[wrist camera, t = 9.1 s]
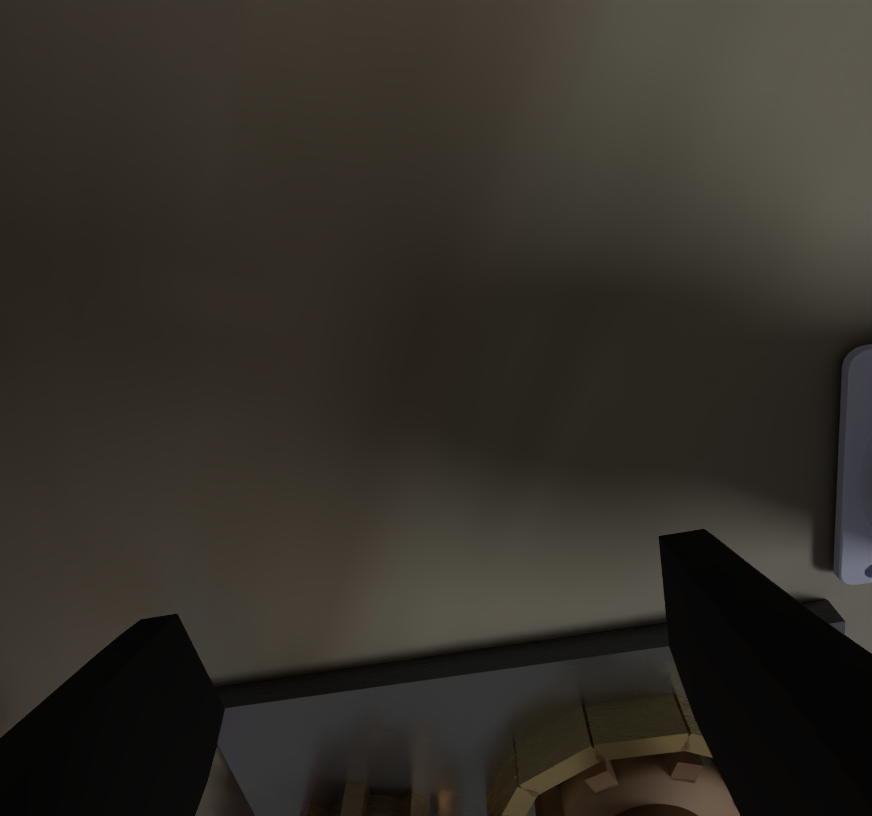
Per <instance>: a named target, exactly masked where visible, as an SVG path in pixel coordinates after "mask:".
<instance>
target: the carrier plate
mask: <svg viewBox="0 0 872 816" xmlns="http://www.w3.org/2000/svg"><path fill="white" fill-rule="evenodd" d="M801 604H802V605H804V606H805V607H806V608H808V609H809V610H811V611H812V612H813V613H815V614H816V615H818V616H819V617H820V618H822V619H823V620H825V621H826V622H827V623H829V624H830V625H832V626H833V627H834V628H836V629H837V630H839V631H840V632H841V633H843V634H845V621H844V619H843V618H842V617H841V616H840V615H839V613H838V612H837V611H836V610H835V608H834V607H833V606H832V605H831V603H830V602H829V601H828V600H822V601H815V602H808V603H801ZM215 690H216V692H217V694H218V696H219V698H220V700H221V702H222V704H223V706H224V708H225V711H224V716H223V720H222V725H221V729H220V734H219V738H218V742H217V744H218V746H219V748H220V750H221V752H222V754H223V756H224V758H225V760H226V762H227V763H228V765H229V767H230V769H231V771H232V773H233V775H234V777H235V779H236V781H237V783H238V784H239V786H240V788H241V790H242V792H243V794H244V796H245V798H246V800H247V802H248V803H249V805H250V807H251V809H252V811H253V813H254V815H255V816H536V812H535V803H534V801H535V799H536V798H537V796H538V795H539V794H541V793H543V792H545V791H547V790H549V789H550V788H552V787H554V786H557V787H560V786H561V784H562V783H563V782H564V781H565V780H567V779H569V778H571V777H573V776H574V775H576V774H578V773H580V772H582V771H584V770H586V769H587V768H589V767H591V766H593V765H595V764H597V763H599V762H600V761H605V760H613V759H621V758H630V757H638V756H646V755H655V754H663V753H671V752H680V751H687V752H691V753H695V754H699V755H702V756H705V757H706V758H708V759H710V760H712V761H713V762H715V761H714V759H713V757H712V755H711V753H710V751H709V749H708V747H707V744H706V742H705V740H704V738H703V736H702V734H701V732H700V730H699V727H698V725H697V723H696V721H695V719H694V716H693V713H692V710H691V708H690V705H689V702H688V699H687V696H686V694H685V691H684V688H683V685H682V682H681V680H680V677H679V674H678V671H677V668H676V665H675V662H674V659H673V656H672V654H671V651H670V648H669V640H668V629H667V623H663V624H656V625H649V626H642V627H635V628H628V629H621V630H614V631H607V632H600V633H593V634H587V635H580V636H573V637H566V638H559V639H552V640H545V641H538V642H531V643H524V644H517V645H510V646H503V647H497V648H490V649H483V650H476V651H469V652H462V653H455V654H448V655H441V656H434V657H427V658H420V659H413V660H406V661H400V662H393V663H386V664H379V665H372V666H365V667H358V668H351V669H344V670H337V671H330V672H323V673H316V674H309V675H303V676H296V677H289V678H282V679H275V680H268V681H261V682H254V683H247V684H240V685H233V686H226V687H219V688H215Z"/></svg>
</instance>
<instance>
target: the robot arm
mask: <svg viewBox="0 0 872 816" xmlns="http://www.w3.org/2000/svg"><path fill="white" fill-rule="evenodd" d="M659 545H660V555H661V566H662V577H663V587H664V598H665V608H666V619H667V629H668V640H669V648H670V651H671V654H672V656H673V659H674V662H675V665H676V668H677V671H678V674H679V677H680V680H681V682H682V685H683V688H684V691H685V694H686V696H687V699H688V702H689V705H690V708H691V710H692V713H693V716H694V719H695V721H696V723H697V725H698V727H699V730H700V732H701V734H702V736H703V738H704V740H705V742H706V744H707V747H708V749H709V751H710V753H711V755H712V757H713V759H714V761H715V764H716V766H717V768H718V770H719V772H720V774H721V776H722V778H723V781H724V783H725V785H726V787H727V789H728V791H729V793H730V795H731V797H732V799H733V802H734V804H735V806H736V808H737V810H738V812H739V814H740V816H872V654H871V653H870V652H868V651H867V650H865V649H864V648H863V647H861V646H860V645H858V644H857V643H855V642H854V641H852V640H851V639H850V638H848V637H847V636H846V635H844V634H843V633H841V632H840V631H839V630H837V629H836V628H834V627H833V626H832V625H830V624H829V623H827V622H826V621H825V620H823V619H822V618H820V617H819V616H818V615H816V614H815V613H813V612H812V611H811V610H809V609H808V608H806V607H805V606H804V605H802V604H801V603H800V602H798V601H797V600H796V599H794V598H793V597H792V596H790V595H789V594H788V593H786V592H785V591H784V590H782V589H781V588H780V587H779V586H777V585H776V584H775V583H773V582H772V581H771V580H769V579H768V578H767V577H766V576H764V575H763V574H762V573H760V572H759V571H758V570H756V569H755V568H754V567H753V566H751V565H750V564H749V563H748V562H746V561H745V560H744V559H742V558H741V557H740V556H739V555H737V554H736V553H735V552H734V551H732V550H731V549H730V548H729V547H727V546H726V545H725V544H724V543H722V542H721V541H720V540H718V539H717V538H716V537H715V536H713V535H712V534H711V533H709V532H708V531H706V530H705V529H700V530H694V531H688V532H682V533H676V534H669V535H663V536H659ZM870 565H872V344H869V345H863V346H860V347H857V348H855V349H853V350H852V351H851V352H849V353H848V354H847V356H846V357H845V359H844V361H843V365H842V380H841V403H840V426H839V449H838V473H837V496H836V519H835V542H834V565H833V569H834V573H835V575H836V576H837V577H838V578H839V579H840V580H841V581H842V582H843V583H845V584H847V585H858V584H864V583H871V582H872V566H871V567H870V568H868V569H866V568H867V567H868V566H870ZM224 711H225V708H224V706H223V704H222V702H221V700H220V698H219V696H218V694H217V692H216V690H215V688H214V686H213V684H212V682H211V680H210V678H209V676H208V674H207V672H206V670H205V668H204V666H203V664H202V662H201V660H200V658H199V656H198V654H197V652H196V650H195V648H194V646H193V644H192V642H191V640H190V638H189V636H188V634H187V632H186V630H185V628H184V626H183V624H182V622H181V620H180V618H179V616H178V614H172V615H166V616H160V617H154V618H147V619H141V620H140V621H138V622H137V623H136V624H134V625H133V626H132V627H130V628H129V629H127V630H126V631H125V632H124V633H122V634H121V635H120V636H119V637H117V638H116V639H115V640H114V641H112V642H111V643H110V644H109V645H108V646H106V647H105V648H104V649H103V650H102V651H100V652H99V653H98V654H97V655H96V656H95V657H93V658H92V659H91V660H90V661H89V662H88V663H86V664H85V665H84V666H83V667H82V668H81V669H79V670H78V671H77V672H76V673H75V674H74V675H73V676H71V677H70V678H69V679H68V680H67V681H66V682H64V683H63V684H62V685H61V686H60V687H59V688H58V689H56V690H55V691H54V692H53V693H52V694H51V695H50V696H48V697H47V698H46V699H45V700H44V701H43V702H41V703H40V704H39V705H38V706H37V707H36V708H35V709H33V710H32V711H31V712H30V713H29V714H28V715H26V716H25V717H24V718H23V719H22V720H21V721H20V722H18V723H17V724H16V725H15V726H14V727H13V728H12V729H10V730H9V731H8V732H7V733H6V734H5V735H3V736H2V737H1V738H0V816H195V814H196V811H197V809H198V806H199V803H200V801H201V798H202V795H203V792H204V789H205V787H206V784H207V781H208V777H209V774H210V770H211V766H212V762H213V758H214V755H215V751H216V747H217V742H218V738H219V734H220V729H221V725H222V720H223V716H224Z"/></svg>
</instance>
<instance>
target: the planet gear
mask: <svg viewBox="0 0 872 816" xmlns="http://www.w3.org/2000/svg"><path fill="white" fill-rule="evenodd" d="M534 803H535V812H536V816H740V814H739V812H738V810H737V808H736V806H735V804H734V802H733V799H732V797H731V795H730V793H729V791H728V789H727V787H726V785H725V783H724V781H723V778H722V776H721V774H720V772H719V770H718V768H717V766H716V764H715V762H713V761H712V760H710V759H708V758H706V757H705V756H702V755H699V754H695V753H691V752H687V751H680V752H671V753H663V754H655V755H646V756H638V757H630V758H621V759H613V760H605V761H600V762H599V763H597V764H595V765H593V766H591V767H589V768H587V769H586V770H584V771H582V772H580V773H578V774H576V775H574V776H573V777H571V778H569V779H567V780H565V781H564V782H563V783H562V784H561V786H560V787H557V786H554V787H552V788H550V789H549V790H547V791H545V792H543V793H541V794H539V795H538V796H537V798H536V799H535V801H534Z"/></svg>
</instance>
